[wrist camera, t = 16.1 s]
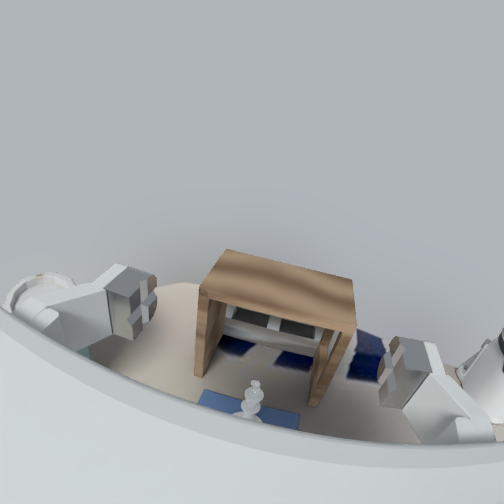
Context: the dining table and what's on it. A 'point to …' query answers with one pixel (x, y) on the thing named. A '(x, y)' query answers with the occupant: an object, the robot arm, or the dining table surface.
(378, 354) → the dining table surface
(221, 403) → the mat
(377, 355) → the dining table surface
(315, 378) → the tunnel
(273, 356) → the dining table surface
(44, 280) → the disposable coffee cup
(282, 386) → the dining table surface
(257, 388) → the chess piece
